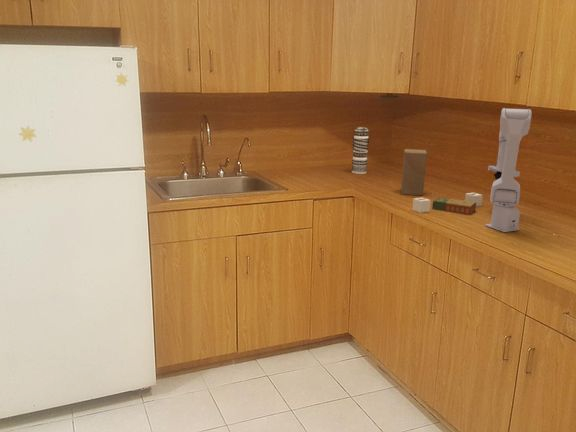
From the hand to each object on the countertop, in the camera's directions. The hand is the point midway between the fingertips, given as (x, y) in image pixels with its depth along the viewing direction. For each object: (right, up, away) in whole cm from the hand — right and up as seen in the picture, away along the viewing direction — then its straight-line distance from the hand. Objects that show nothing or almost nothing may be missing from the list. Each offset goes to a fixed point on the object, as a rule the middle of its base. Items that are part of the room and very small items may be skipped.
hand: (500, 190), depth 221 cm
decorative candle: (-47, +14, +82) cm, 96 cm away
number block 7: (-6, -6, +15) cm, 17 cm away
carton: (-18, -8, +6) cm, 20 cm away
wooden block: (-28, +1, +35) cm, 45 cm away
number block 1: (-32, -8, +3) cm, 33 cm away
